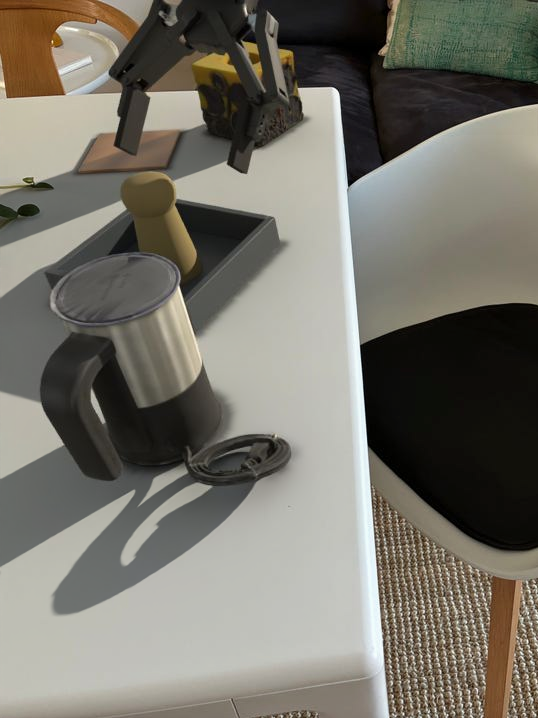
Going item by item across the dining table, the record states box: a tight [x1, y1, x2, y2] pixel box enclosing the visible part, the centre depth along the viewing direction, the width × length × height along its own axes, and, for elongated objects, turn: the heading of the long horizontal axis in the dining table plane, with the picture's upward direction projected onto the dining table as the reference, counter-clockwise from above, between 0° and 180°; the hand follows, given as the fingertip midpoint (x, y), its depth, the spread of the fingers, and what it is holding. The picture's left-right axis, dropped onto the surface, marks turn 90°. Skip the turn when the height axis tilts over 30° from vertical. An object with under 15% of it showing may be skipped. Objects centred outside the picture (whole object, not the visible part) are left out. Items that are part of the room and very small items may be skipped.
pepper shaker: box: [119, 170, 202, 285], centre depth 80 cm, size 6×6×11 cm
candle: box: [190, 41, 305, 147], centre depth 108 cm, size 10×10×10 cm
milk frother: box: [39, 252, 292, 487], centre depth 60 cm, size 14×16×15 cm
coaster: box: [77, 129, 181, 174], centre depth 105 cm, size 11×11×1 cm
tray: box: [43, 198, 282, 335], centre depth 83 cm, size 17×17×4 cm
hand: (179, 160), depth 81 cm, fingers open, 13 cm apart
